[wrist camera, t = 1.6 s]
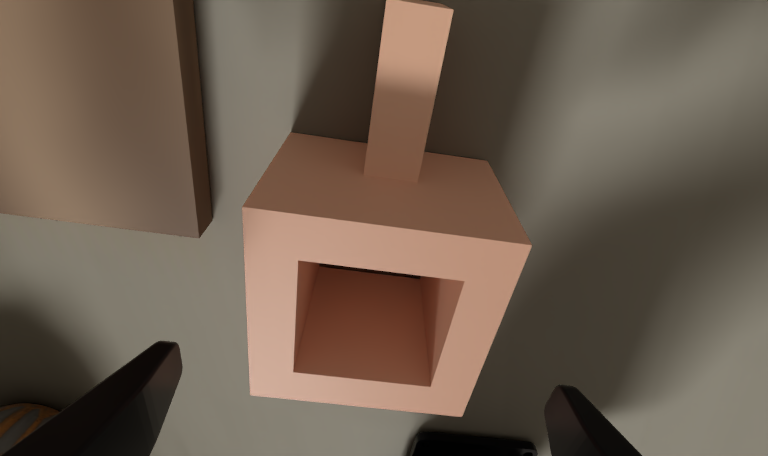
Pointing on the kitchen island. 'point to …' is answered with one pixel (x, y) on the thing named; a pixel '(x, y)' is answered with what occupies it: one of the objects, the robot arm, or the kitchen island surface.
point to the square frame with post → (380, 249)
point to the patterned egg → (21, 422)
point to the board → (103, 114)
